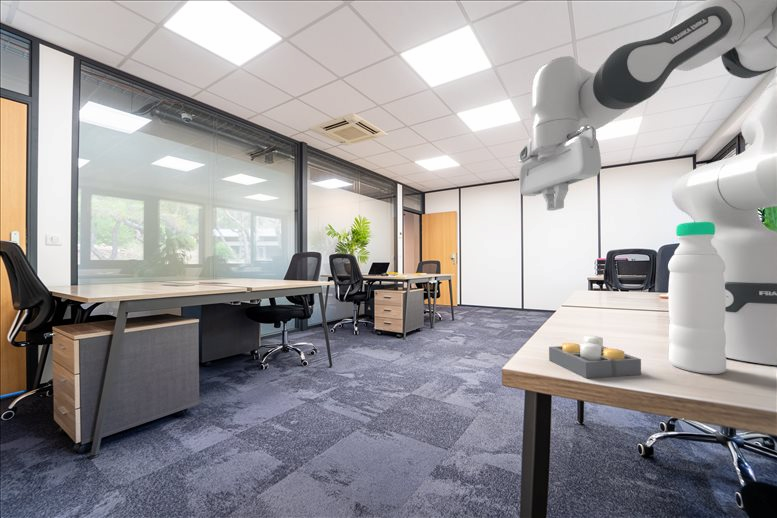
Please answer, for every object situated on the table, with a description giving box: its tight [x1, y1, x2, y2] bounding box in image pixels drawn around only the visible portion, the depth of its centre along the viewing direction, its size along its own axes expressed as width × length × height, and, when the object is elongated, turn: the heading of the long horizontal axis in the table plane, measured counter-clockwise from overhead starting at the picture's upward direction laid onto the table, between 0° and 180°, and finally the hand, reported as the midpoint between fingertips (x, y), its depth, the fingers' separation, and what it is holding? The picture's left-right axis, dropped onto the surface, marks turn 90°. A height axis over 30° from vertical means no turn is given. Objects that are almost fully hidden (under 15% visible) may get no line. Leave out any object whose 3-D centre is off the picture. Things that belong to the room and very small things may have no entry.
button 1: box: [561, 342, 580, 353], centre depth 57 cm, size 3×3×3 cm
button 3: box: [583, 335, 604, 351], centre depth 58 cm, size 3×3×3 cm
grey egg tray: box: [548, 345, 642, 379], centre depth 55 cm, size 10×9×2 cm
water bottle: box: [667, 221, 727, 375], centre depth 54 cm, size 7×7×25 cm
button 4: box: [603, 347, 625, 360], centre depth 53 cm, size 3×3×3 cm
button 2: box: [579, 342, 601, 361], centre depth 53 cm, size 3×3×3 cm
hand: (555, 209), depth 65 cm, fingers closed
